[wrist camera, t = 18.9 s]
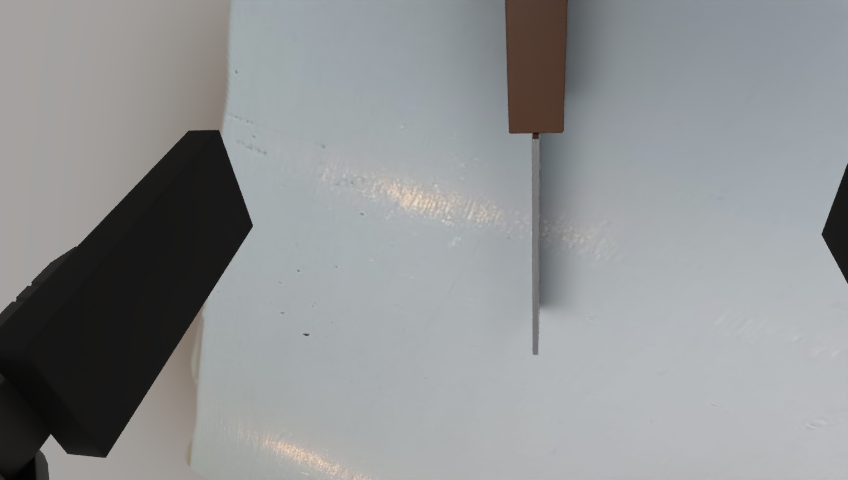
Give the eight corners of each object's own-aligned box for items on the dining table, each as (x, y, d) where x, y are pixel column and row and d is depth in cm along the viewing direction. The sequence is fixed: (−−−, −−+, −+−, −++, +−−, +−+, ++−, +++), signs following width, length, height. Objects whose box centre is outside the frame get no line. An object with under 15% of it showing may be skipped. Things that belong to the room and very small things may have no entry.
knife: (507, -135, 24) (500, -119, 21) (570, -142, 24) (571, -126, 20) (518, 306, 38) (514, 353, 35) (556, 307, 38) (556, 356, 35)
